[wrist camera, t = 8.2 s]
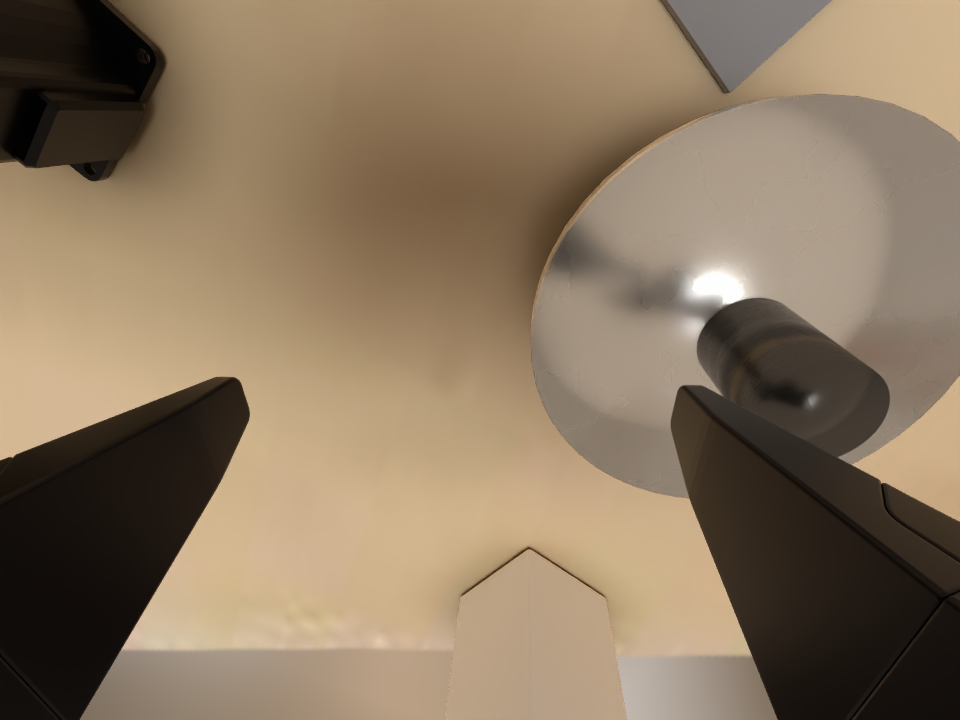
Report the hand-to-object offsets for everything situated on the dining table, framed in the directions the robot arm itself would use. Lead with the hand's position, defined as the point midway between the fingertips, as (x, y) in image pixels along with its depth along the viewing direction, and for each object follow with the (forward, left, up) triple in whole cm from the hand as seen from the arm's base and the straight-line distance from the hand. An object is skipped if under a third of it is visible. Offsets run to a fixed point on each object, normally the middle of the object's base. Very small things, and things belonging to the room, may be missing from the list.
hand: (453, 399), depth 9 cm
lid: (+7, +5, -7) cm, 11 cm away
